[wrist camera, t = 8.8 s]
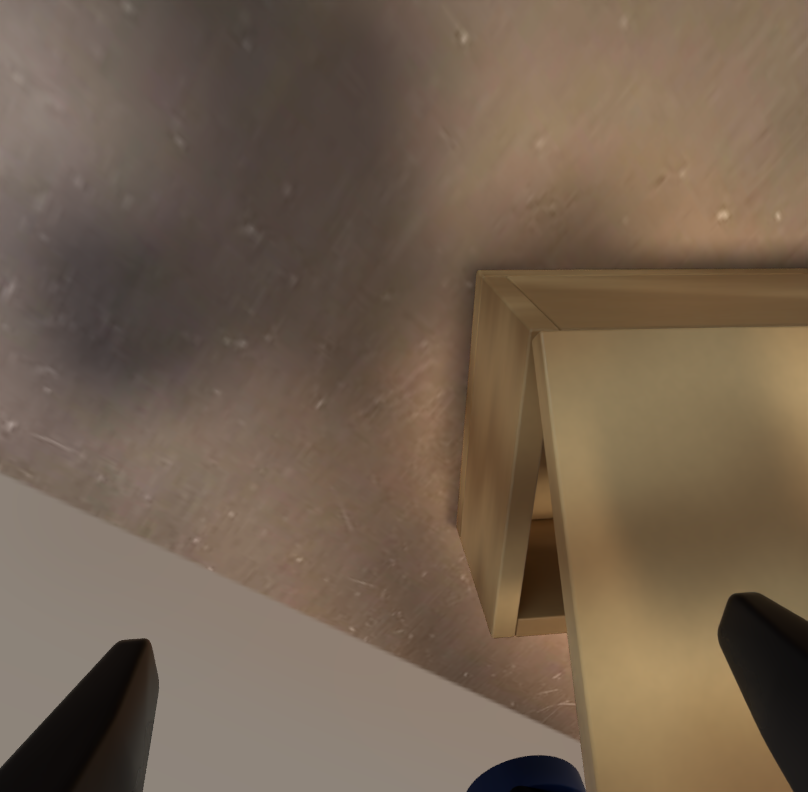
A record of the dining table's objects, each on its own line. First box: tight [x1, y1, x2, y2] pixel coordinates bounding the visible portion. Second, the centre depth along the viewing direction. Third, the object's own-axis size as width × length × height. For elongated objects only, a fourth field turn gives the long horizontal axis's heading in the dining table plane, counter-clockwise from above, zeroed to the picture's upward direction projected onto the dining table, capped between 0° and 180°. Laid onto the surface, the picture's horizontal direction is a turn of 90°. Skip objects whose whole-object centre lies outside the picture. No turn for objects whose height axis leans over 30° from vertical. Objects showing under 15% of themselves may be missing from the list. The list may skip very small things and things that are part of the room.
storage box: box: [456, 268, 808, 638], centre depth 21 cm, size 11×14×6 cm
